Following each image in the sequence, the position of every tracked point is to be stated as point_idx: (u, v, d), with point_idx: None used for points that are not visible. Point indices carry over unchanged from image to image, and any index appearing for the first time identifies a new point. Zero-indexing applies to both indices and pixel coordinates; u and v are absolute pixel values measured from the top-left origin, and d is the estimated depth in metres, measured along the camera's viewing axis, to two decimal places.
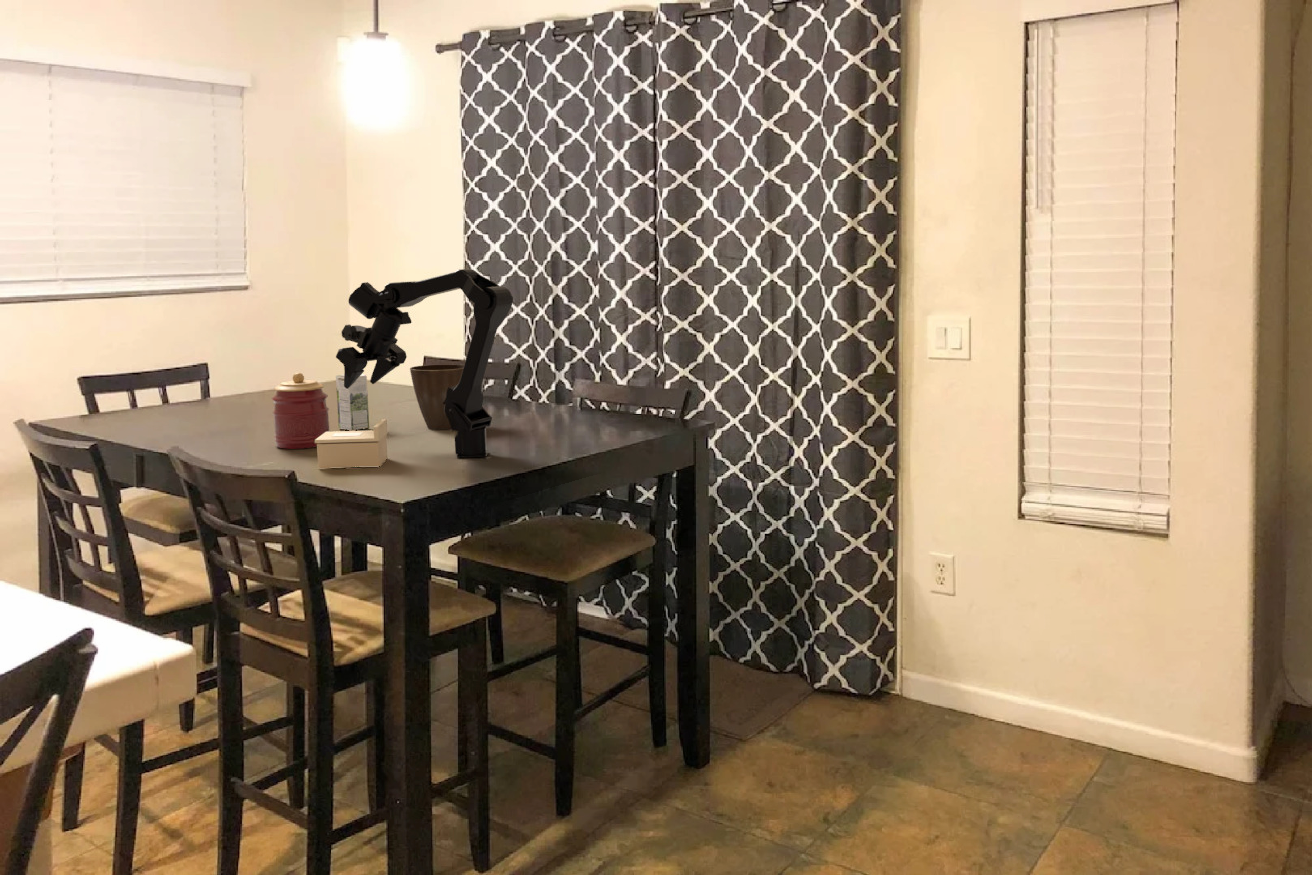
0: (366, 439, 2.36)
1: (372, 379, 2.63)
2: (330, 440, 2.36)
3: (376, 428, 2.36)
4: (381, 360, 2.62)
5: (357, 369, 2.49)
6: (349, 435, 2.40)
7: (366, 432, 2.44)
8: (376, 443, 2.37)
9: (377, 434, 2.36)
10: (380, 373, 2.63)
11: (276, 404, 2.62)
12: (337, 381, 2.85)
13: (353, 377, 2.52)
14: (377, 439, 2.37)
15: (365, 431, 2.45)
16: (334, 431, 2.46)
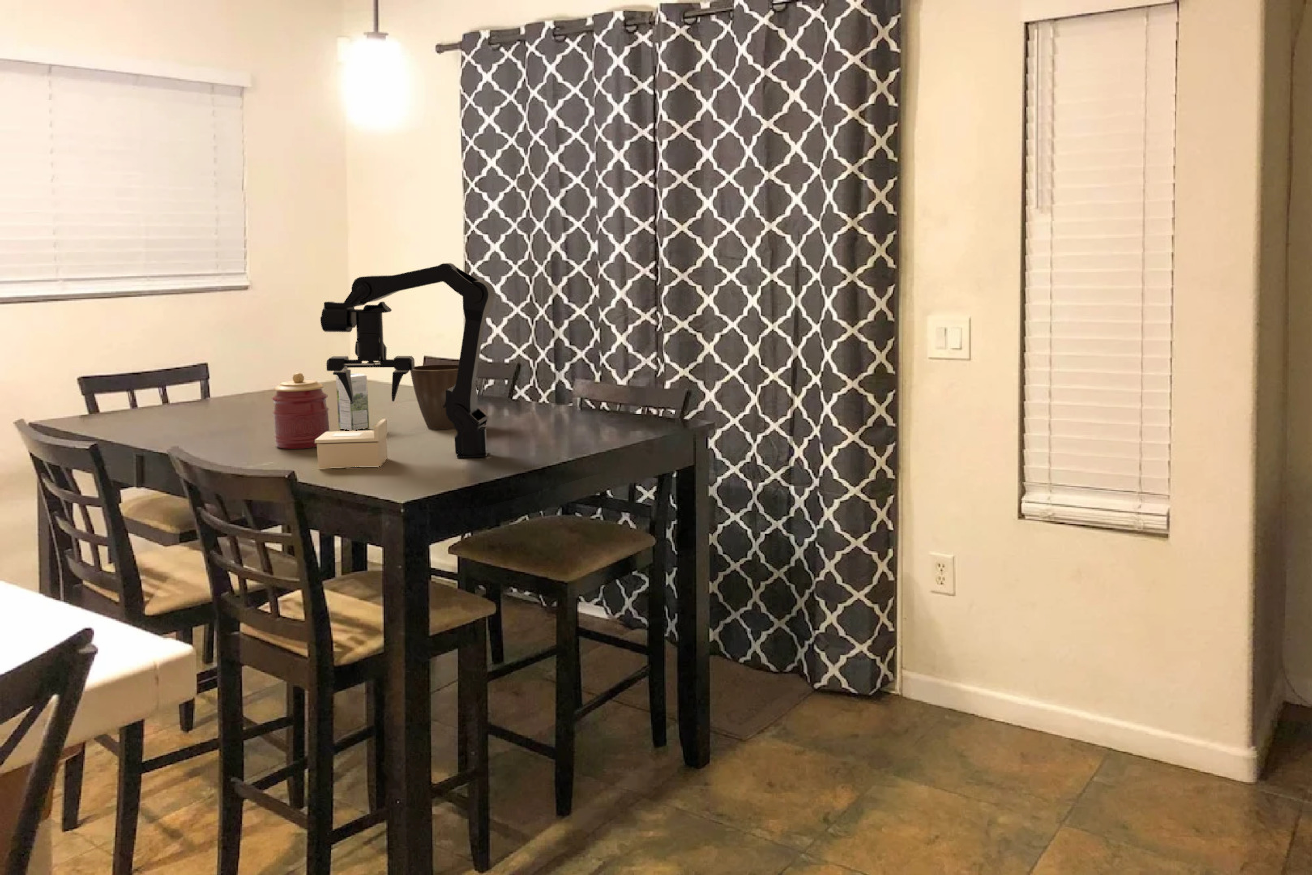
0: (366, 439, 2.36)
1: None
2: (330, 440, 2.36)
3: (376, 428, 2.36)
4: None
5: (332, 369, 2.44)
6: (349, 435, 2.40)
7: (366, 432, 2.44)
8: (376, 443, 2.37)
9: (377, 434, 2.36)
10: None
11: (276, 404, 2.62)
12: (337, 381, 2.85)
13: None
14: (377, 439, 2.37)
15: (365, 431, 2.45)
16: (334, 431, 2.46)
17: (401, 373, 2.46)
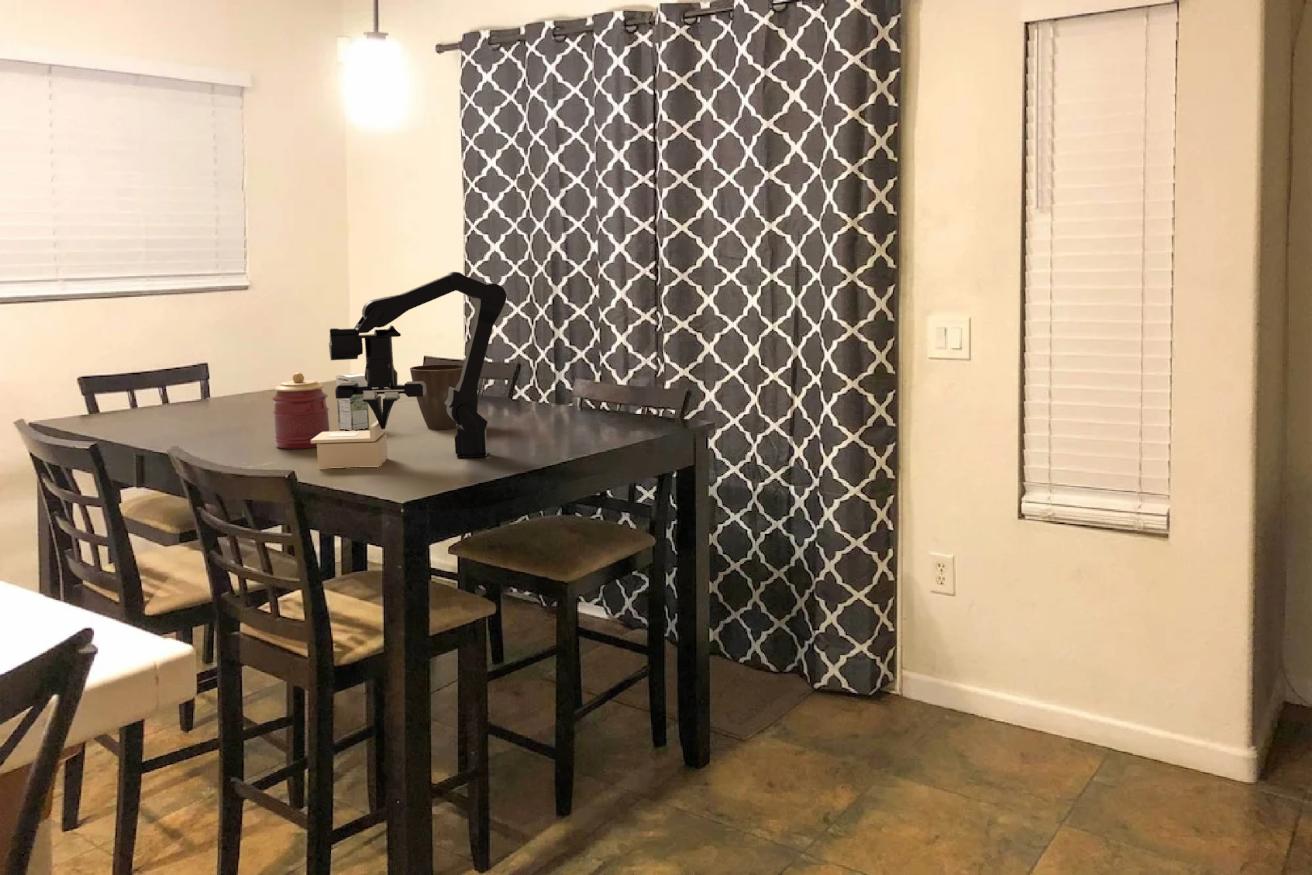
0: (362, 439, 2.36)
1: None
2: (326, 440, 2.36)
3: (372, 428, 2.36)
4: None
5: (341, 396, 2.37)
6: (345, 435, 2.40)
7: (362, 432, 2.44)
8: (376, 443, 2.37)
9: (373, 434, 2.36)
10: None
11: (276, 404, 2.62)
12: (337, 381, 2.85)
13: None
14: (373, 439, 2.37)
15: (361, 431, 2.45)
16: None
17: (391, 400, 2.38)
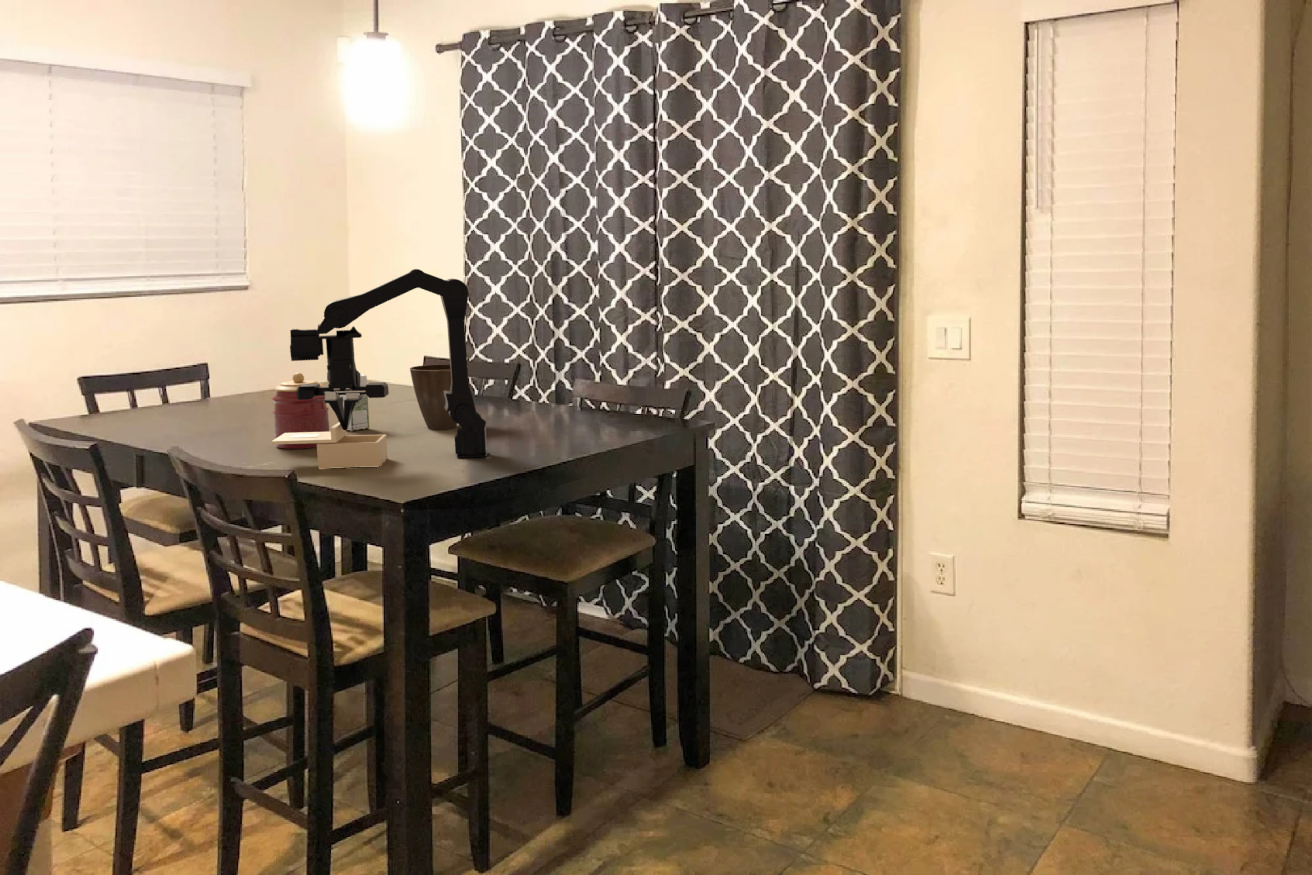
0: (323, 440, 2.36)
1: None
2: (287, 441, 2.35)
3: (333, 429, 2.36)
4: None
5: (302, 397, 2.36)
6: (307, 436, 2.39)
7: (324, 433, 2.43)
8: (376, 443, 2.37)
9: (334, 435, 2.36)
10: None
11: (276, 404, 2.62)
12: None
13: None
14: (334, 440, 2.36)
15: (324, 432, 2.45)
16: None
17: (353, 401, 2.37)
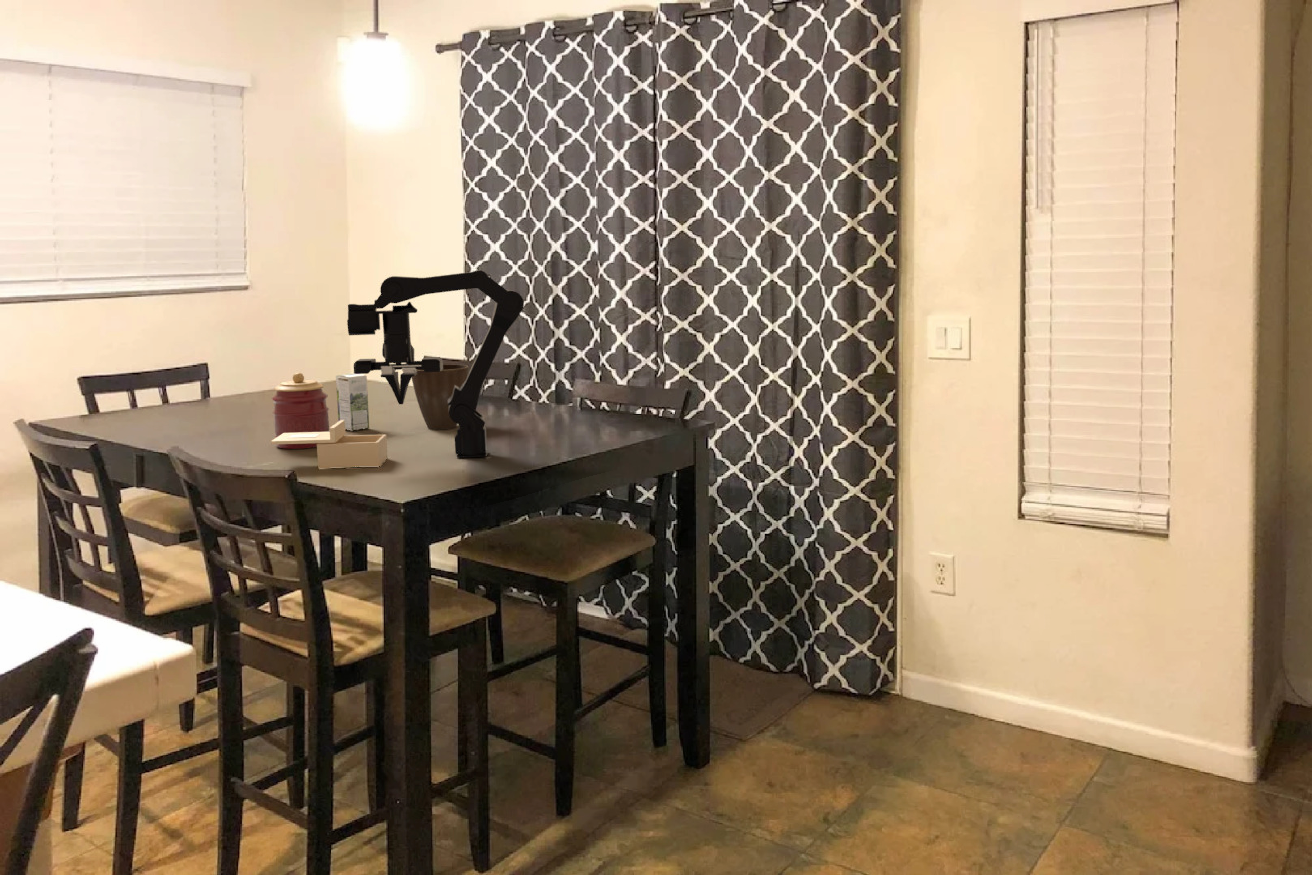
0: (322, 440, 2.36)
1: None
2: (286, 441, 2.35)
3: (332, 429, 2.36)
4: None
5: (359, 372, 2.39)
6: (306, 436, 2.39)
7: (323, 433, 2.43)
8: (376, 443, 2.37)
9: (333, 435, 2.36)
10: None
11: (276, 404, 2.62)
12: (337, 381, 2.85)
13: None
14: (333, 440, 2.36)
15: (323, 432, 2.45)
16: None
17: (409, 375, 2.40)
